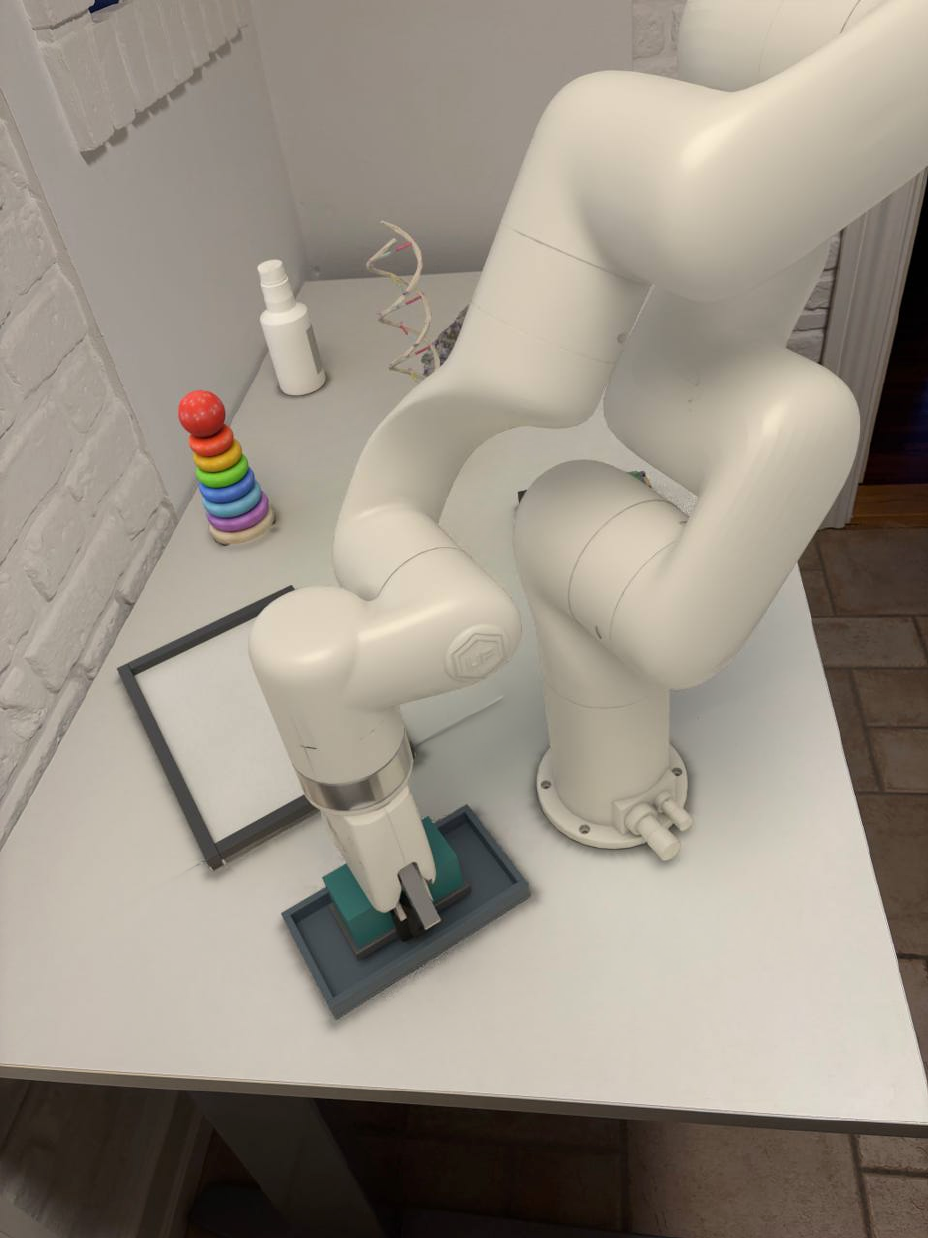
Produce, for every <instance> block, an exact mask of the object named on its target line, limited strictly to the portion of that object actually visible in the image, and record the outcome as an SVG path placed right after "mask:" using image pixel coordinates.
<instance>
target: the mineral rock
mask: <svg viewBox="0 0 928 1238" xmlns="http://www.w3.org/2000/svg"><path fill="white" fill-rule="evenodd" d="M469 305H470V303H468V304H466V306H465V307H464V308H463V309H462V310H461V311H459V313H458V315H457V317H456V318H455V319H454V321H453V322H452V323H451V324H450V325H449V326H448V327H446V328H445V329H443V331H442V332H440V333H439V335H437V338H436V339H435V340H434V341H433V342H436V344H435V348H436V351H437V354H438V357H439V359H440V366H441V365H443V363H444V362H445V361H446V360H447V358H448V357H449V355H450V353H451V352H452V350H453V348H454V345H455V343H456V340H457V338H458V336H459V333H460V330H461V328H462V325H463V322H464V319H465V316H466V313H467V311H468V308H469ZM420 362H421V364H422V365H423V374H422V375H424V376H425V377H428V376H429V375H431V374H432V373H433V372H434V369H435V360H434V354H433V352H432V351H431V349H430V348H429V349H427V350H426V351H425V352H424V353H423V355H422V356H421V357H420Z"/></svg>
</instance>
